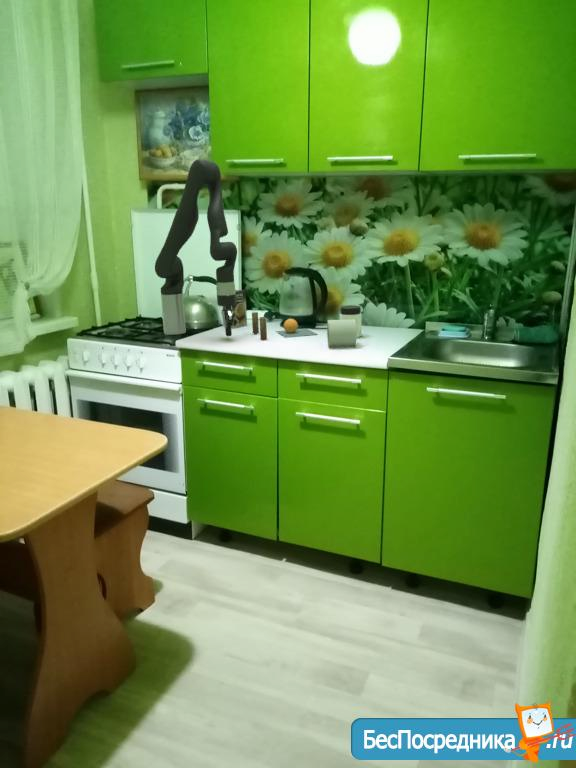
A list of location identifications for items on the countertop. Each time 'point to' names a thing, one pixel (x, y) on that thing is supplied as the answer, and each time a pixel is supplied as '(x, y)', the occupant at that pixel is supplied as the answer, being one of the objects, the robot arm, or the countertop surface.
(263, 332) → the post
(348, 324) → the toilet paper
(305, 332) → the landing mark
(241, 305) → the coffee box
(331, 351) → the countertop surface
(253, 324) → the post
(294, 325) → the ball
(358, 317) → the jar
